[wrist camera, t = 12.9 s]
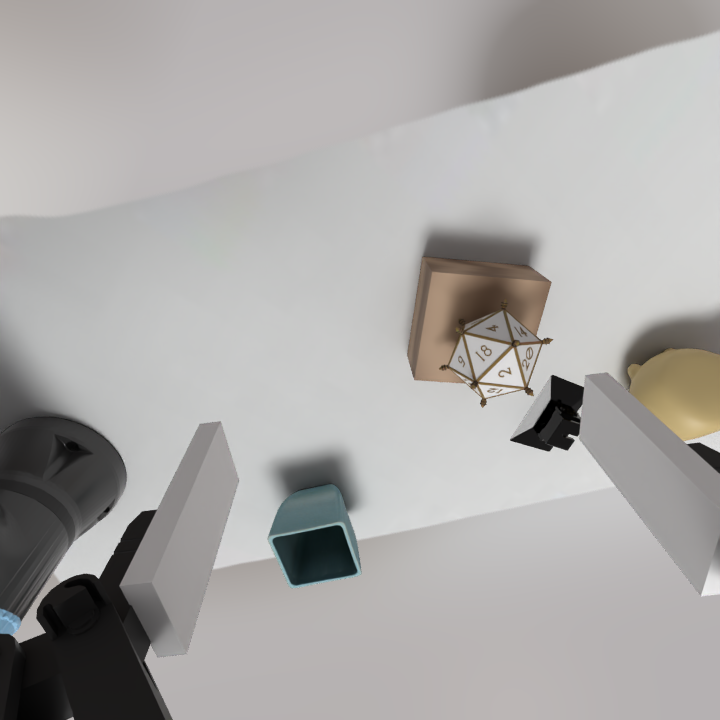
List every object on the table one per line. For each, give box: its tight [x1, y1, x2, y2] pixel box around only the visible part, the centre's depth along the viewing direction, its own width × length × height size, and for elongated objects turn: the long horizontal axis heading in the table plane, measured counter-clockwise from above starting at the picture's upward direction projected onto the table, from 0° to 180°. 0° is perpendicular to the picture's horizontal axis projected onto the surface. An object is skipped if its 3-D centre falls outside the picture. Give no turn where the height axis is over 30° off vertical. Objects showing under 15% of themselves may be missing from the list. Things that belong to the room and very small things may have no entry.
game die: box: [439, 299, 553, 408], centre depth 40 cm, size 9×8×10 cm
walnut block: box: [407, 257, 551, 383], centre depth 46 cm, size 11×11×6 cm
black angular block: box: [510, 375, 584, 451], centre depth 53 cm, size 12×7×5 cm, turn 159°
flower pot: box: [268, 484, 362, 588], centre depth 56 cm, size 9×9×9 cm
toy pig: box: [628, 348, 720, 441], centre depth 48 cm, size 10×12×11 cm
